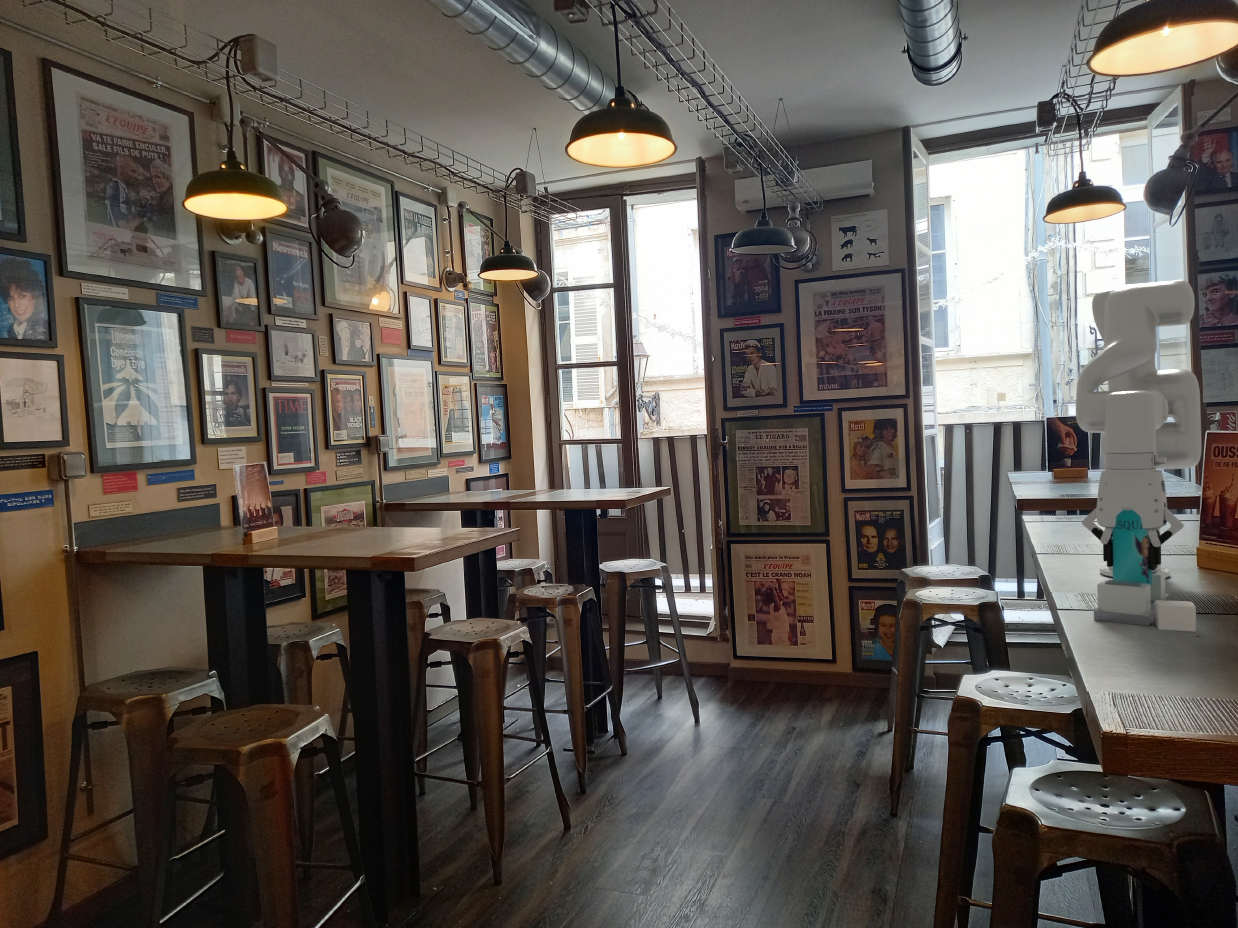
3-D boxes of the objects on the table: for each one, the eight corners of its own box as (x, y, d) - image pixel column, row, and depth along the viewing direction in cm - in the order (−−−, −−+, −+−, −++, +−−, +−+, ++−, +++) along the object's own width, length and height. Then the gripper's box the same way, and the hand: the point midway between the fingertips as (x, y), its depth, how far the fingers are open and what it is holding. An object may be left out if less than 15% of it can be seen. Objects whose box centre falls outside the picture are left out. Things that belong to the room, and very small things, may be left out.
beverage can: (1138, 597, 145) (1137, 508, 144) (1105, 591, 150) (1104, 506, 149) (1159, 592, 148) (1158, 505, 147) (1126, 587, 153) (1124, 503, 152)
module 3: (1155, 624, 141) (1155, 599, 141) (1191, 626, 139) (1191, 601, 139) (1158, 630, 138) (1158, 605, 137) (1196, 632, 135) (1195, 607, 135)
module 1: (1103, 606, 148) (1103, 578, 148) (1150, 610, 143) (1150, 582, 143) (1097, 610, 145) (1097, 582, 145) (1145, 615, 140) (1145, 586, 140)
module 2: (1120, 592, 158) (1120, 566, 158) (1165, 596, 153) (1165, 569, 153) (1115, 596, 155) (1115, 570, 155) (1161, 600, 150) (1160, 573, 150)
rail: (1118, 599, 159) (1118, 589, 158) (1169, 604, 153) (1169, 593, 153) (1093, 619, 145) (1093, 608, 145) (1148, 625, 140) (1148, 613, 140)
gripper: (1193, 461, 145) (1194, 567, 146) (1080, 461, 156) (1082, 560, 157) (1186, 464, 139) (1187, 575, 140) (1069, 464, 151) (1071, 566, 152)
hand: (1131, 566), depth 149 cm, fingers closed on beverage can, 5 cm apart
